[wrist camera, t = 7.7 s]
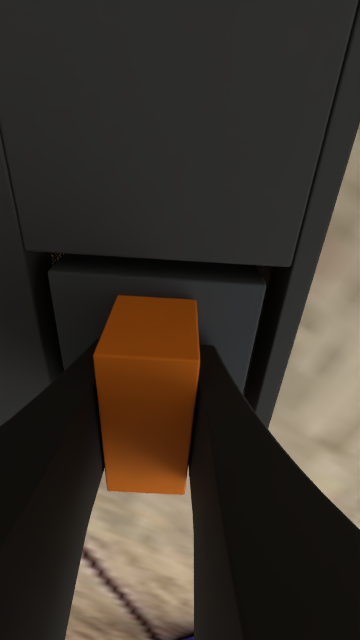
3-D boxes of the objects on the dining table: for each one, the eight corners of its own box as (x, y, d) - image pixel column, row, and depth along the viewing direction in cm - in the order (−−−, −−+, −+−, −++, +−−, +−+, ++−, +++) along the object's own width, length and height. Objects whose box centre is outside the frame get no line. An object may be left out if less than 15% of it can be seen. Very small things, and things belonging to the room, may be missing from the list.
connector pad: (84, 391, 12) (43, 499, 8) (66, 250, 9) (-8, 326, 6) (229, 399, 12) (247, 509, 8) (255, 262, 9) (298, 344, 6)
